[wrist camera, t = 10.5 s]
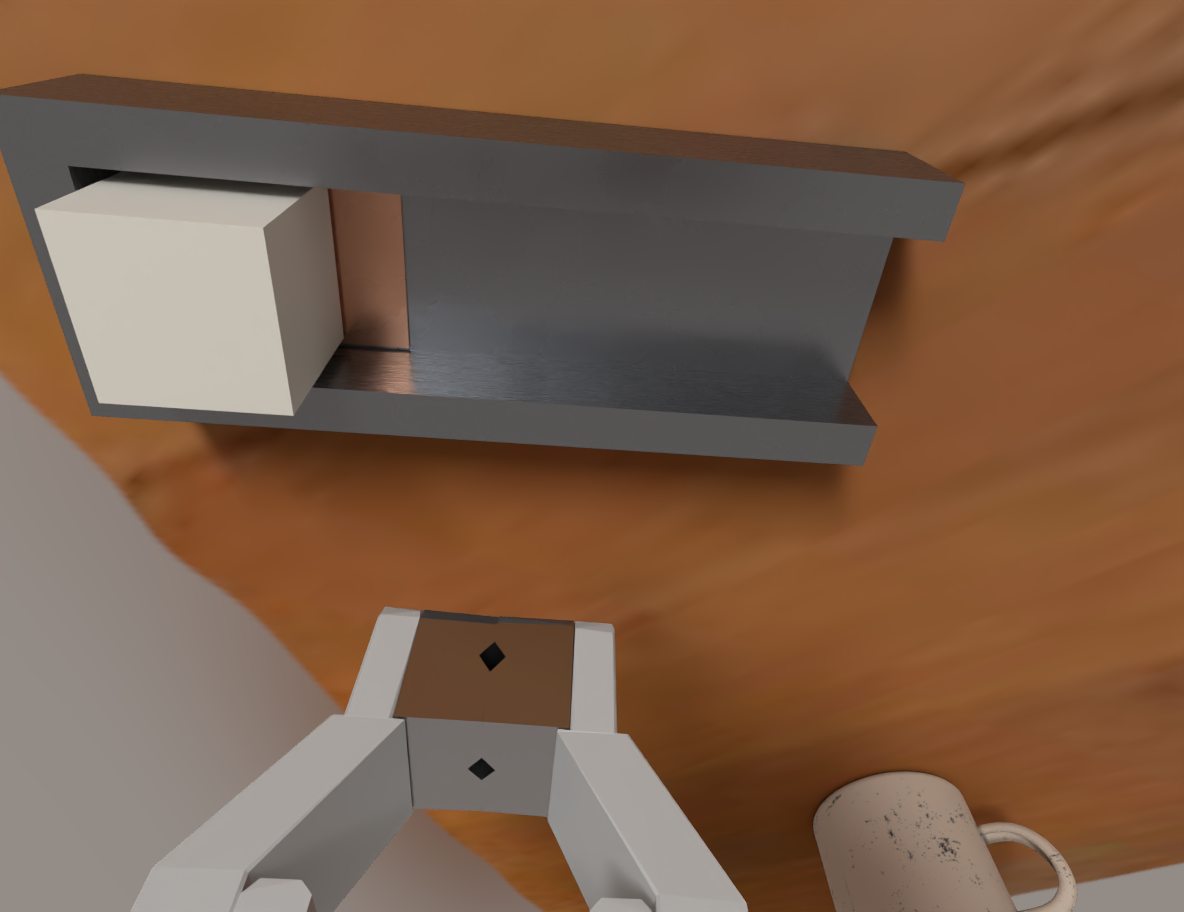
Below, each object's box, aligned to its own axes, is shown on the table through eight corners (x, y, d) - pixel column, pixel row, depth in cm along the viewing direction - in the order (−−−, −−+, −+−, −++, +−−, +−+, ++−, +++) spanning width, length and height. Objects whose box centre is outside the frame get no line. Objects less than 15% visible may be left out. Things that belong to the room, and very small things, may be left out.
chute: (905, 152, 22) (965, 183, 18) (827, 404, 27) (863, 465, 23) (79, 73, 20) (-19, 92, 17) (156, 357, 25) (91, 415, 22)
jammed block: (326, 177, 21) (263, 227, 16) (343, 337, 23) (293, 415, 19) (145, 161, 20) (34, 209, 16) (185, 325, 23) (99, 403, 19)
